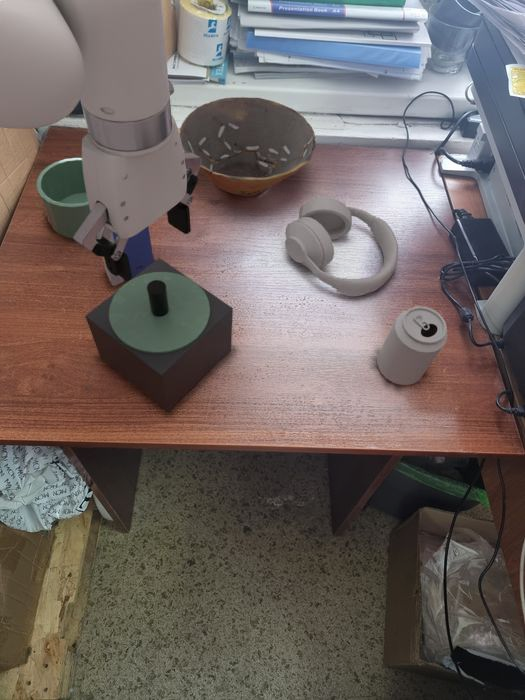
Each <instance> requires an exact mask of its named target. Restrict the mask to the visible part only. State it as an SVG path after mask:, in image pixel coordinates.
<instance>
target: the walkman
mask: <svg viewBox="0 0 525 700" xmlns="http://www.w3.org/2000/svg"><path fill="white" fill-rule="evenodd" d="M150 233H151V232H150V227H149V226H147V227H146V228H145V229H143V230H142V231H141V232H139V233H138V234H136V235H134V236H132V237H130V238H128V240H127V243H126V246H125V248H124V251H123V252H124V253H125V254H127V256H128V260H129V264H130V268H131V273H132V279H133V278H134V277H135V276H137V275H138V274H139V273H140V272H142V271H143V270H144V269H145V268H147V267H148V266H149V265H151V264H152V263H153V262H154V261H155V260H154V253H153V247H152V240H151V235H150ZM98 235H99V233H98ZM98 235H97V236H96V239H97V237H98ZM117 236H118V235H116V234H115V233H113V232H112V233H111V236H110V238H109V241H111V242H112V243H113V244H114V242H115V240H116V237H117ZM101 258H102V261H103V265H104V269H105V274H106V276H107V277H108V281H109V282H110V284H111V285H112V287H115V286H118V285H120V284H122V283H124V282H127V281H126V280H124V279H123V278H122V277H120V276H119V275H118V276H115V275H113V274H112V273H110V271H109V270H108V269H107V266H106V262H105V259H104V257H101Z"/></svg>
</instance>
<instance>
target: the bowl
mask: <svg viewBox="0 0 525 700" xmlns="http://www.w3.org/2000/svg"><path fill="white" fill-rule="evenodd" d="M178 131H179V134H180V138H181V142H182V147H183V152H184V153H194V154H196V155H197V156H199V157H201V158H202V162H201V165H200V169H199V172H200V174H202V175H203V176H204V177H205V178H206V179H207V180H208V181H209V182H211V183H212V184H213V185H215V186H216V187H217V188H219V189H220V190H222V191H224V192H227V193H230V194H233V195H236V196H243V197H244V196H245V197H247V196H255V195H259V194H260V193H262V192H264V191H266V190H268V189H269V188H272V187H273V186H275V185H277V184H278V183H280V182H282V181H284V180H286V179H288V178H289V177H291V176H293V175H294V174H296V173H297V172H298V171H300V170H301V169H303V168H304V167H305V166H306V165H307V164H309V162H310V161H311V160H312V157H313V153H314V151H315V149H316V144H317V143H316V142H317V141H316V135H315V131H314V129H313V127H312V126H311V124H310V122H308V121H307V119H306V118H305V116H303V115H302V114H300V112H298V111H296V110H295V109H293V108H291V107H289V106H287V105H285V104H282V103H279V102H276V101H274V100H270V99H267V98H262V97H245V96H237V97H236V96H235V97H224V98H219V99H216V100H213V101H210V102H207V103H204V104H202V105H199V106H198V107H196V108H195V109H194V110H192V111H191V112H190V113H189V114H188V115H187V116H186V117H185V118H184V120H183V121H182V123H181V124H180V127H179V128H178Z"/></svg>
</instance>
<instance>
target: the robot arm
mask: <svg viewBox="0 0 525 700" xmlns="http://www.w3.org/2000/svg"><path fill="white" fill-rule="evenodd" d="M163 16H164V14H163V5H162V0H0V128H1V129H2V128H3V129H11V130H12V129H13V130H30V129H31V130H32V129H38V128H45V127H49V126H51V125H55V124H57V123H59V122H60V121H62V120H64V119H66V118H67V117H68V116H69V115H71V114H72V112H73V111H74V110H75V108H76V107H77V106H78V104H79V102H80V104H81V108H82V113H83V116H84V120H85V124H86V128H87V132H88V133H87V134H86V135H84V136H83V137H82V139H81V158H82V165H83V175H84V182H85V188H86V193H87V198H88V203H89V207H90V211H91V212H90V214H89V215H88V216H87V218H86V219H85V221H84V222H83V223H82V225H81V226H80V228H79V229H78V230H77V232H76V233H75V235H74V239H73V241H74V242H76V243H77V244H79V245H80V246H82V248H85V249H86V250H88V251H89V252H90V253H92V254H94V255H95V256H97V257H100V258H102V257H104V259H105V262H106V266H107V269H108V270H109V271H110V273H112V274H113V275H115V276H118V275H119V276H120V277H122V278H123V279H124V280H126V281H125V282H129V281H130V280H131V279H133V278H132V273H131V268H130V264H129V260H128V256H127V254H125V253H124V252H123V251H124V248H125V246H126V243H127V240H128V238H130V237H132V236H134V235H136V234H138V233H139V232H141V231H142V230H143V229H145V228H146V227H147V226H148V227H149V226H150V225H152V224H153V223H155V222H156V221H157V220H158V219H160V218H161V217H162V216H165V214H166V215H167V223H168V224H169V225H170V226H172V227H173V228H175V229H176V230H178V231H179V232H181V233H183V235H188V234H190V233H191V232H192V228H191V227H192V226H191V212H190V211H191V210H190V206H191V205H192V203H193V202H194V196H192V194H193V192H194V190H195V188H196V186H197V184H198V182H199V177H198V175H199V172H200V171H199V169H200V165H201V162H202V158H201V157H199V156H197V155H196V154H194V153H184V152H183V147H182V142H181V138H180V134H179V128H178V124H177V121H176V120H175V117H174V116H173V114H172V107H171V106H172V105H171V96H172V95H173V94H174V92H175V87H174V85H173V83H172V82H171V81H170V80H169V73H168V72H169V71H168V60H167V50H166V48H167V47H166V39H165V38H166V37H165V28H164V17H163ZM112 232H113V233H115V234H116V235H118V236H117V237H116V240H115V242H114V244H113V243H112V242H111V241H109V238H110V236H111V233H112ZM98 233H99V235H98ZM97 235H98V237H97V239H96V236H97Z"/></svg>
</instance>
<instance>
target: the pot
mask: <svg viewBox="0 0 525 700" xmlns="http://www.w3.org/2000/svg"><path fill="white" fill-rule="evenodd" d="M36 191H37V194H38V196H39V199H40V202H41V205H42V207H43V210H44V212H45V215H46V218H47V221H48V222H49V224H50V226H51V228H52V229H53V231H55V232H56V233H57V234H59V235H60V236H62V237H65V238H67V239H73V240H74V235H75V233H76V232H77V230H78V229H79V228H80V226H81V225H82V223H83V222H84V221H85V219H86V218H87V216H88V215H89V214H90V212H91V211H90V207H89V203H88V198H87V193H86V188H85V182H84V175H83V165H82V157H71V158H64V159H62V160H59V161H58V160H57V161H55V162H53V163H52V164H50V165H48V166H46V167H45V168H44V169H43V170H42V171H41V172H40V173H39V174H38V178H37V180H36Z"/></svg>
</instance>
